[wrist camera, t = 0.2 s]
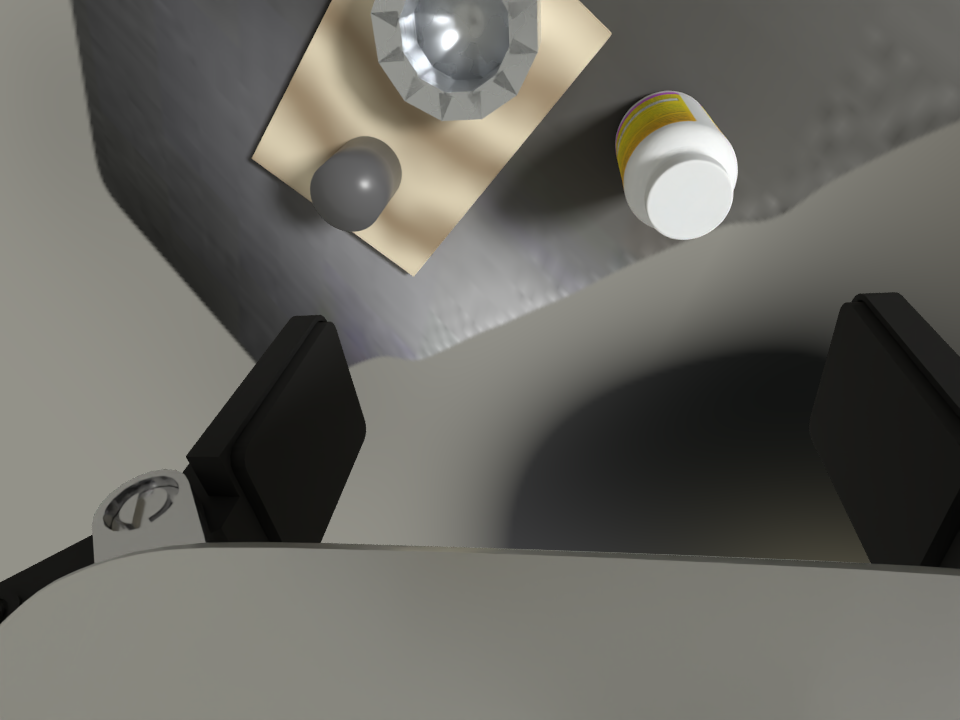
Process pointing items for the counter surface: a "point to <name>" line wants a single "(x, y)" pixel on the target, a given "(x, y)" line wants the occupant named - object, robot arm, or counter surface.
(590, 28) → the birch board
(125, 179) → the counter surface
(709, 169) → the supplement bottle
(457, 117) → the lens barrel
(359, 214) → the grey rounded canister
